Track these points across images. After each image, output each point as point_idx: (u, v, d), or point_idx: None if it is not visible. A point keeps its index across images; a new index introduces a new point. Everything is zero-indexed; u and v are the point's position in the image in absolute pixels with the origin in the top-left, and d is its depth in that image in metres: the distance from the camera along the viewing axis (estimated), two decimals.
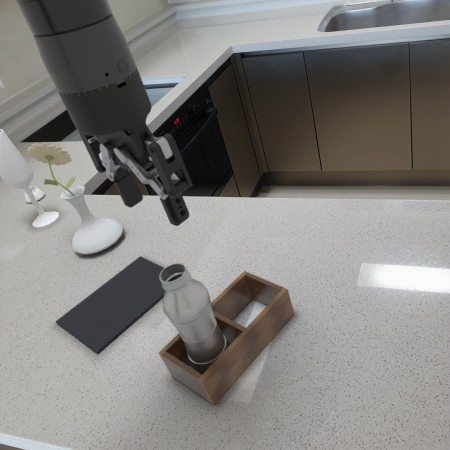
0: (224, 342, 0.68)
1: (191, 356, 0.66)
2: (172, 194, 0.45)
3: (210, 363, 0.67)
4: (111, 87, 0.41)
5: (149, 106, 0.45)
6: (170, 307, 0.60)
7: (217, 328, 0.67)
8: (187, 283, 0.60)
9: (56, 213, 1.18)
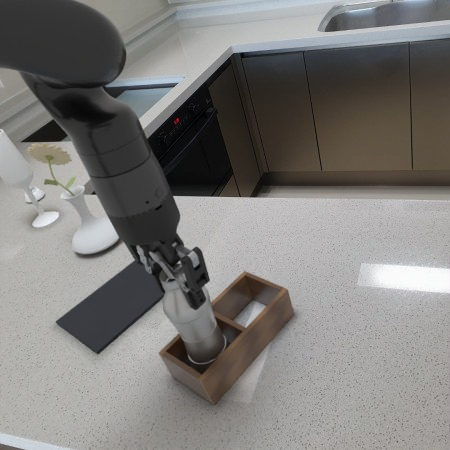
0: (224, 342, 0.68)
1: (191, 356, 0.66)
2: (194, 291, 0.55)
3: (210, 363, 0.67)
4: (150, 211, 0.50)
5: (179, 217, 0.54)
6: (170, 307, 0.60)
7: (217, 328, 0.67)
8: None
9: (56, 213, 1.18)
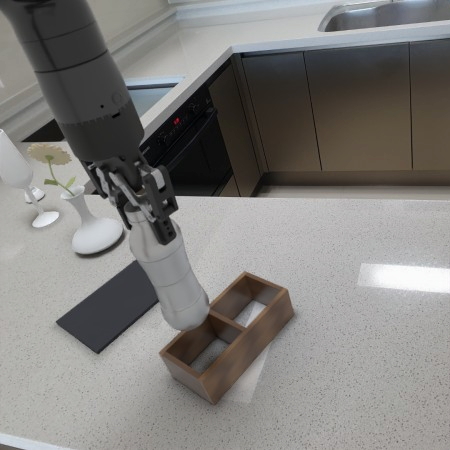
0: (200, 290, 0.62)
1: (163, 304, 0.60)
2: (159, 218, 0.49)
3: (183, 312, 0.60)
4: (106, 118, 0.44)
5: (142, 133, 0.48)
6: (136, 243, 0.54)
7: (191, 273, 0.60)
8: None
9: (56, 213, 1.18)
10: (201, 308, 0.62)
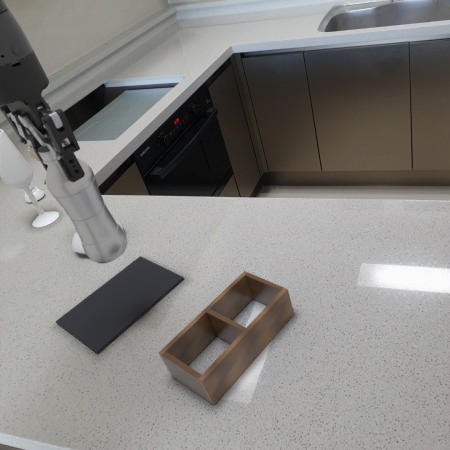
0: (115, 227, 0.72)
1: (81, 237, 0.70)
2: (61, 154, 0.59)
3: (99, 244, 0.70)
4: (7, 66, 0.53)
5: (45, 82, 0.58)
6: (50, 180, 0.64)
7: (106, 211, 0.70)
8: None
9: (56, 213, 1.18)
10: (116, 243, 0.72)
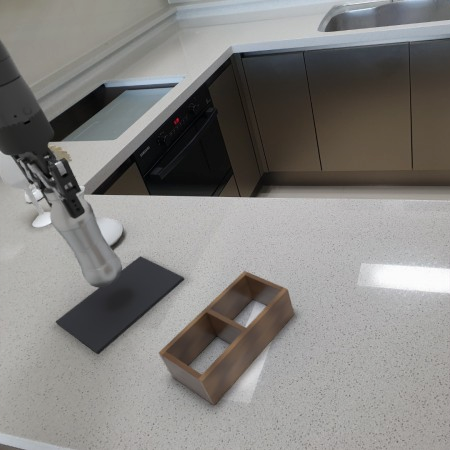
0: (111, 255, 0.80)
1: (81, 265, 0.79)
2: (65, 196, 0.67)
3: (97, 271, 0.79)
4: (19, 124, 0.62)
5: (51, 135, 0.67)
6: (54, 216, 0.72)
7: (103, 242, 0.79)
8: None
9: None
10: (112, 269, 0.80)
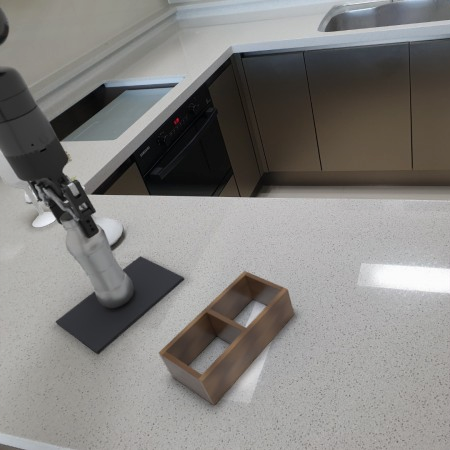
0: (124, 277, 0.84)
1: (94, 287, 0.82)
2: (80, 218, 0.69)
3: (110, 293, 0.82)
4: (36, 152, 0.65)
5: (65, 160, 0.69)
6: (70, 243, 0.76)
7: (116, 265, 0.82)
8: None
9: None
10: (124, 291, 0.83)
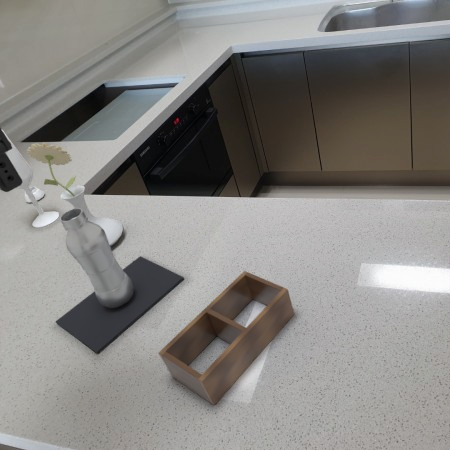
0: (124, 277, 0.84)
1: (94, 287, 0.82)
2: None
3: (110, 293, 0.82)
4: None
5: None
6: (70, 243, 0.76)
7: (116, 265, 0.82)
8: (82, 223, 0.75)
9: (56, 213, 1.18)
10: (124, 291, 0.83)
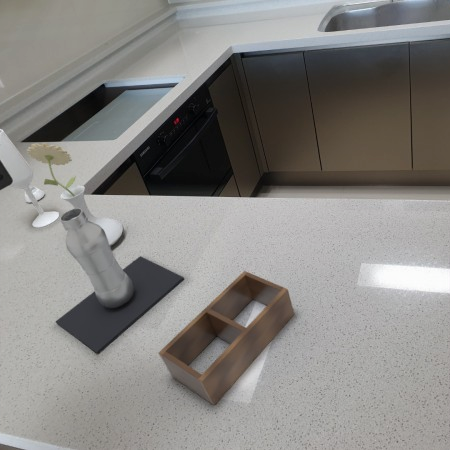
0: (124, 277, 0.84)
1: (94, 287, 0.82)
2: None
3: (110, 293, 0.82)
4: None
5: None
6: (70, 243, 0.76)
7: (116, 265, 0.82)
8: (82, 223, 0.75)
9: (56, 213, 1.18)
10: (124, 291, 0.83)
